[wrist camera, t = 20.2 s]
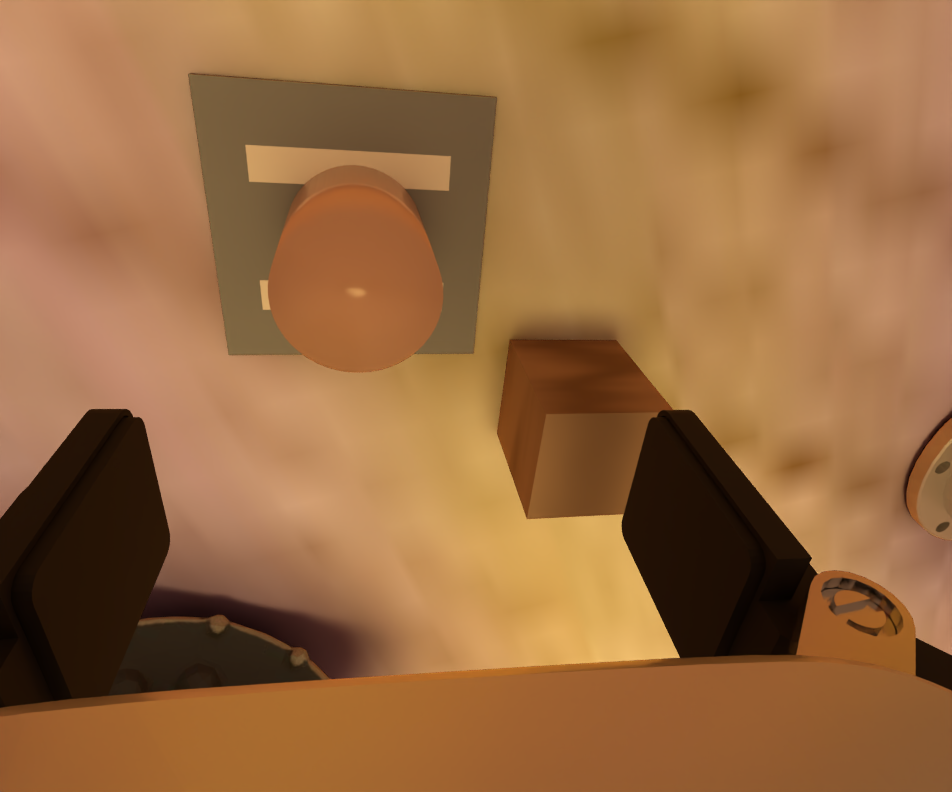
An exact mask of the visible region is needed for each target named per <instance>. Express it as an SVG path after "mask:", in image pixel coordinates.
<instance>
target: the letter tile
mask: <svg viewBox="0 0 952 792" xmlns="http://www.w3.org/2000/svg"><path fill="white" fill-rule="evenodd" d="M188 76H189V83H190V90H191V97H192V104H193V111H194V118H195V125H196V132H197V139H198V146H199V153H200V159H201V166H202V173H203V180H204V187H205V194H206V201H207V208H208V215H209V222H210V229H211V236H212V243H213V250H214V257H215V264H216V271H217V278H218V285H219V292H220V299H221V306H222V312H223V319H224V326H225V333H226V340H227V347H228V354H229V355H303V354H301V353H300V352H299V351H297V350H296V349H295V348H294V347H293V346H292V345H291V344H290V343H289V342H288V341H287V339H286V338H285V337H284V336H283V334H282V333H281V331H280V330H279V328H278V326H277V324H276V322H275V320H274V318H273V315H272V312H271V309H270V305H269V299H268V279H269V273H270V269H271V266H272V262H273V259H274V256H275V253H276V250H277V247H278V244H279V240H280V237H281V234H282V231H283V228H284V225H285V222H286V218H287V215H288V212H289V209H290V206H291V204H292V202H293V199H294V197H295V196H296V194H297V193H298V191H299V190H300V189H301V188H302V186H303V185H304V184H305V183H306V182H307V181H309V180H310V179H311V178H312V177H314V176H315V175H317V174H319V173H321V172H323V171H325V170H327V169H330V168H334V167H337V166H344V165H358V166H366V167H369V168H373V169H376V170H378V171H381V172H383V173H385V174H387V175H388V176H390V177H392V178H393V179H394V180H396V181H397V182H398V183H399V184H400V185H402V186H403V187H404V188H405V189H406V191H407V192H408V193H409V194H410V196H411V197H412V199H413V201H414V202H415V204H416V206H417V208H418V211H419V213H420V216H421V219H422V222H423V225H424V227H425V230H426V233H427V236H428V239H429V242H430V244H431V247H432V250H433V253H434V256H435V259H436V261H437V264H438V267H439V271H440V274H441V277H442V284H443V305H442V310H441V314H440V318H439V320H438V323H437V325H436V327H435V329H434V331H433V332H432V334H431V336H430V337H429V339H428V340H427V341H426V342H425V344H424V345H423V346H422V347H421V348H420V349H419V350H418V351H417V352H415V353H414V354H474V343H475V332H476V321H477V310H478V300H479V289H480V278H481V267H482V256H483V245H484V234H485V223H486V212H487V201H488V191H489V180H490V169H491V158H492V147H493V136H494V125H495V114H496V103H497V97H491V96H478V95H465V94H452V93H439V92H426V91H413V90H400V89H387V88H374V87H361V86H348V85H335V84H322V83H309V82H296V81H283V80H270V79H257V78H244V77H231V76H218V75H205V74H192V73H190V74H188Z"/></svg>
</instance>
